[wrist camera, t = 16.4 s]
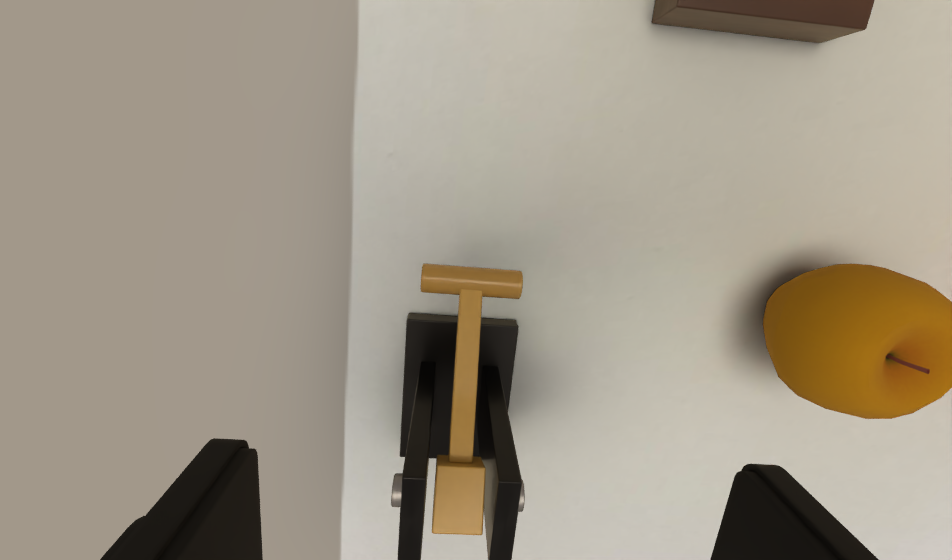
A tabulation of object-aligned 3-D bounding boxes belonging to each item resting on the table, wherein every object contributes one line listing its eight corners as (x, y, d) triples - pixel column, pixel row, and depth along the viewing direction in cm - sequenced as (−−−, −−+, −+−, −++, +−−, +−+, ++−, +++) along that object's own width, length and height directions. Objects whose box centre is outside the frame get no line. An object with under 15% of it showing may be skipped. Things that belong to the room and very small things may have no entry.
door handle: (423, 268, 24) (422, 258, 21) (517, 275, 24) (525, 266, 22) (403, 514, 22) (399, 532, 19) (506, 517, 22) (514, 536, 20)
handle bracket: (408, 312, 29) (379, 416, 18) (516, 319, 29) (555, 425, 18) (401, 446, 32) (372, 610, 20) (500, 450, 32) (525, 613, 21)
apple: (738, 382, 32) (842, 468, 23) (720, 271, 29) (830, 320, 21) (858, 347, 31) (1009, 420, 23) (850, 231, 29) (1016, 265, 20)
